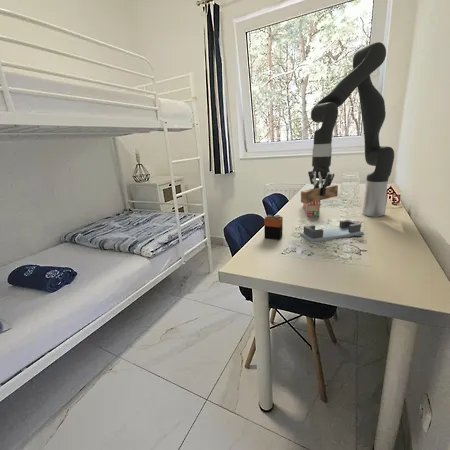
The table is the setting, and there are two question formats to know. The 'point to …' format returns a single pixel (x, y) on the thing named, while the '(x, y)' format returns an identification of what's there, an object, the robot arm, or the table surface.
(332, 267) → the table surface
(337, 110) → the robot arm
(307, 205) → the stack of blocks
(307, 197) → the slat
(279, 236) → the battery
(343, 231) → the cap board
